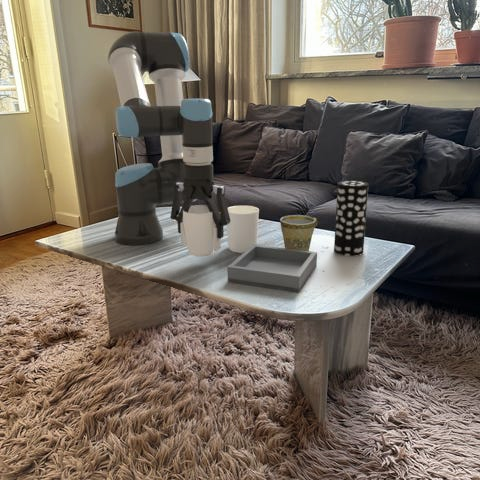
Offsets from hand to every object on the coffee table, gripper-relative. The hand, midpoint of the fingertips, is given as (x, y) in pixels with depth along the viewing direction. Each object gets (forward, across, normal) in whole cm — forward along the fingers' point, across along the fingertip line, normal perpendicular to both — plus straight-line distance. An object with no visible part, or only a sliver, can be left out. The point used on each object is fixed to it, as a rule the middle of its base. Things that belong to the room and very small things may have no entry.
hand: (200, 247), depth 122 cm
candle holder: (+5, +5, +16) cm, 18 cm away
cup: (+2, 0, 0) cm, 2 cm away
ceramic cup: (+5, +22, +20) cm, 30 cm away
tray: (+5, +20, 0) cm, 21 cm away
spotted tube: (+5, +35, +24) cm, 43 cm away
